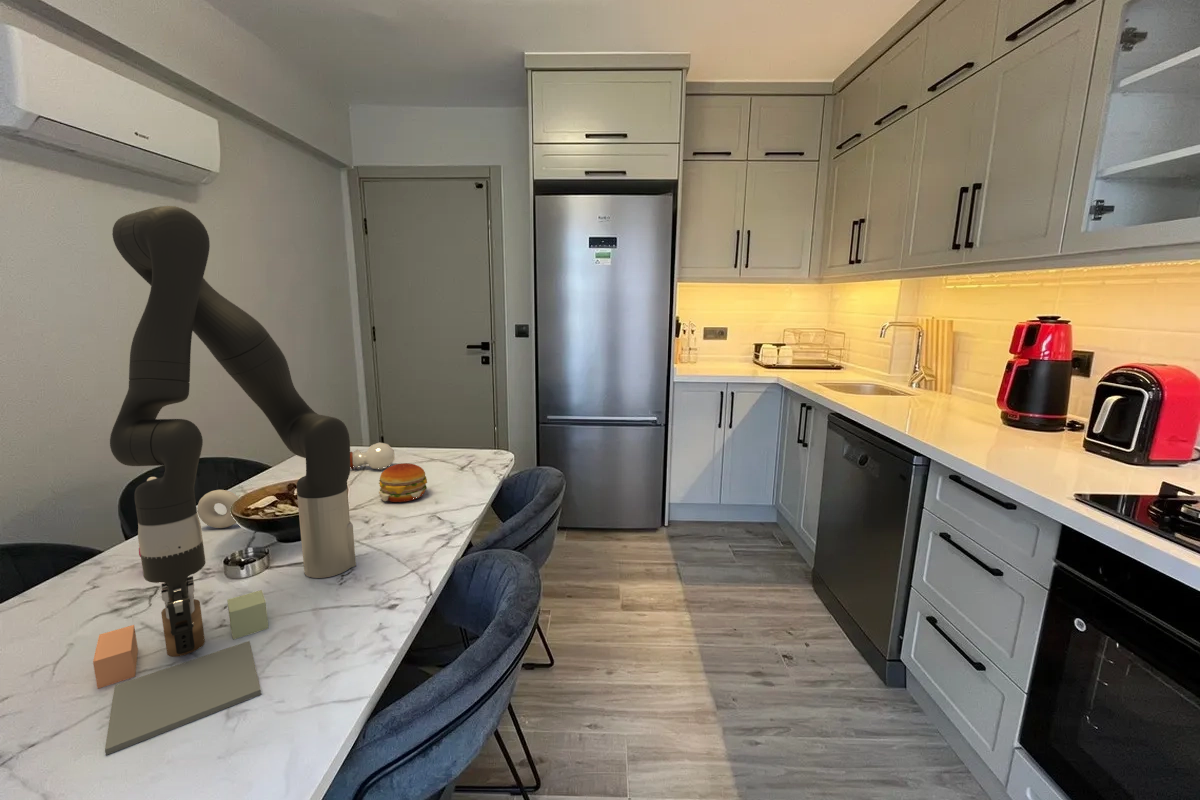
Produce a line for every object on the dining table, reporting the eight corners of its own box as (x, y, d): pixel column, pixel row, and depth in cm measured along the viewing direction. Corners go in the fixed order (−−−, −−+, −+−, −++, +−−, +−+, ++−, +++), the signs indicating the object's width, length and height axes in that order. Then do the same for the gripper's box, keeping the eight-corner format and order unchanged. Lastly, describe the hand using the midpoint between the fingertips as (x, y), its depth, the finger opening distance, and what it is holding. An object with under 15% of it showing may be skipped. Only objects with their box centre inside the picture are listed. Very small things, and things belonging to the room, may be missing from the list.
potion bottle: (396, 473, 176) (352, 479, 175) (400, 451, 183) (358, 457, 182) (387, 457, 170) (342, 463, 168) (392, 435, 176) (348, 440, 175)
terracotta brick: (103, 660, 79) (99, 634, 78) (138, 650, 81) (134, 624, 81) (97, 689, 73) (92, 661, 72) (135, 677, 75) (130, 650, 75)
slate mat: (249, 645, 83) (249, 640, 82) (261, 694, 72) (260, 689, 72) (115, 690, 72) (114, 685, 72) (105, 755, 62) (104, 749, 62)
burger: (437, 495, 152) (435, 463, 150) (398, 509, 141) (396, 474, 139) (408, 486, 159) (406, 456, 157) (369, 499, 148) (366, 466, 146)
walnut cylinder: (204, 633, 85) (199, 595, 84) (205, 648, 82) (200, 608, 81) (167, 645, 82) (161, 606, 81) (166, 660, 79) (160, 619, 78)
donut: (196, 531, 125) (191, 493, 123) (205, 525, 128) (200, 488, 126) (240, 529, 126) (236, 491, 125) (248, 524, 130) (243, 486, 128)
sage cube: (264, 615, 91) (261, 589, 90) (268, 628, 87) (265, 602, 86) (230, 626, 88) (227, 599, 87) (233, 640, 84) (229, 612, 83)
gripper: (204, 553, 76) (217, 655, 79) (200, 523, 87) (211, 613, 90) (137, 569, 71) (153, 676, 74) (142, 535, 82) (156, 629, 85)
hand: (185, 641), depth 82 cm, fingers open, 5 cm apart
